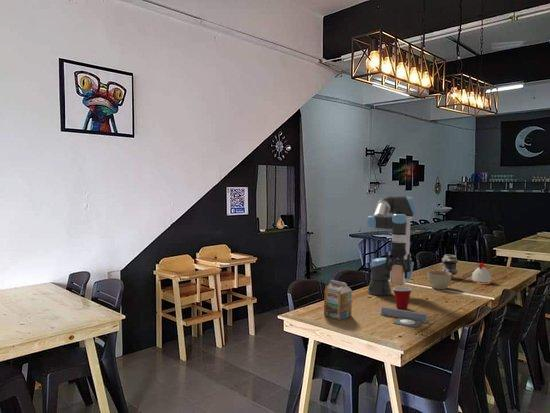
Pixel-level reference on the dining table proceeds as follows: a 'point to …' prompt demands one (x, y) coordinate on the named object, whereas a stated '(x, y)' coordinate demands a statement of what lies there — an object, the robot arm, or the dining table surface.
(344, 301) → the milk carton
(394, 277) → the beige small cylinder
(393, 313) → the divider wall
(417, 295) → the dining table surface
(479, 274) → the kitchen timer
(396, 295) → the plastic cup
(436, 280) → the planter bowl
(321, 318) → the dining table surface
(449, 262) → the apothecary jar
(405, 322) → the resting mat
